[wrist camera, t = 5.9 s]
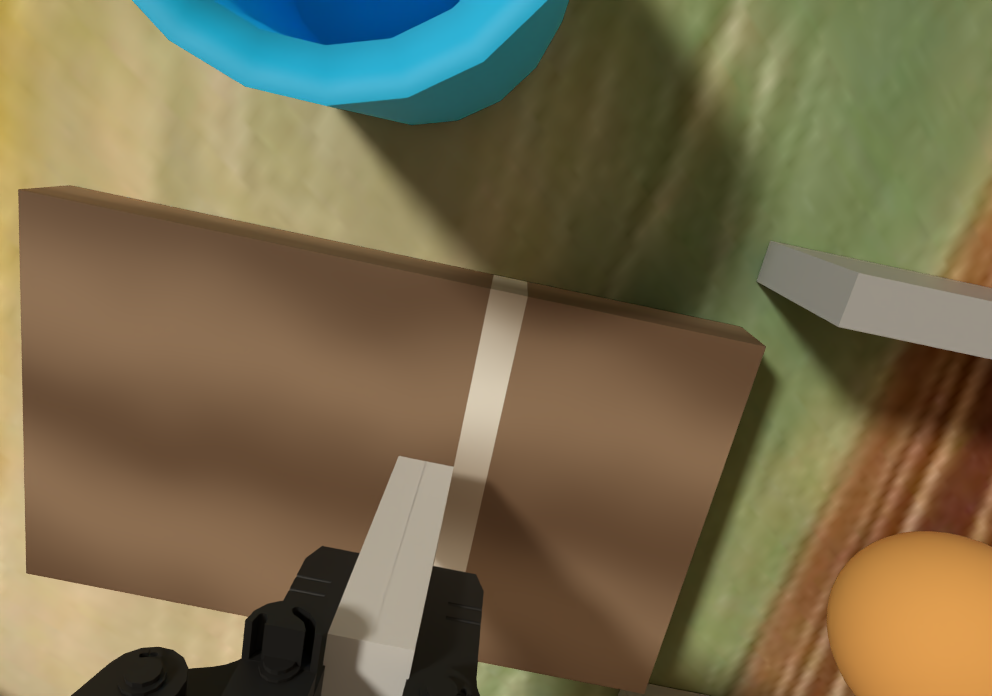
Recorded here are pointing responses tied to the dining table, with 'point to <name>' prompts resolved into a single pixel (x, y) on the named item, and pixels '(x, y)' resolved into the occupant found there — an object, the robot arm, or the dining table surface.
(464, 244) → the dining table surface
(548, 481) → the board
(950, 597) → the ball
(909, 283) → the grey frame
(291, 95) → the mug
